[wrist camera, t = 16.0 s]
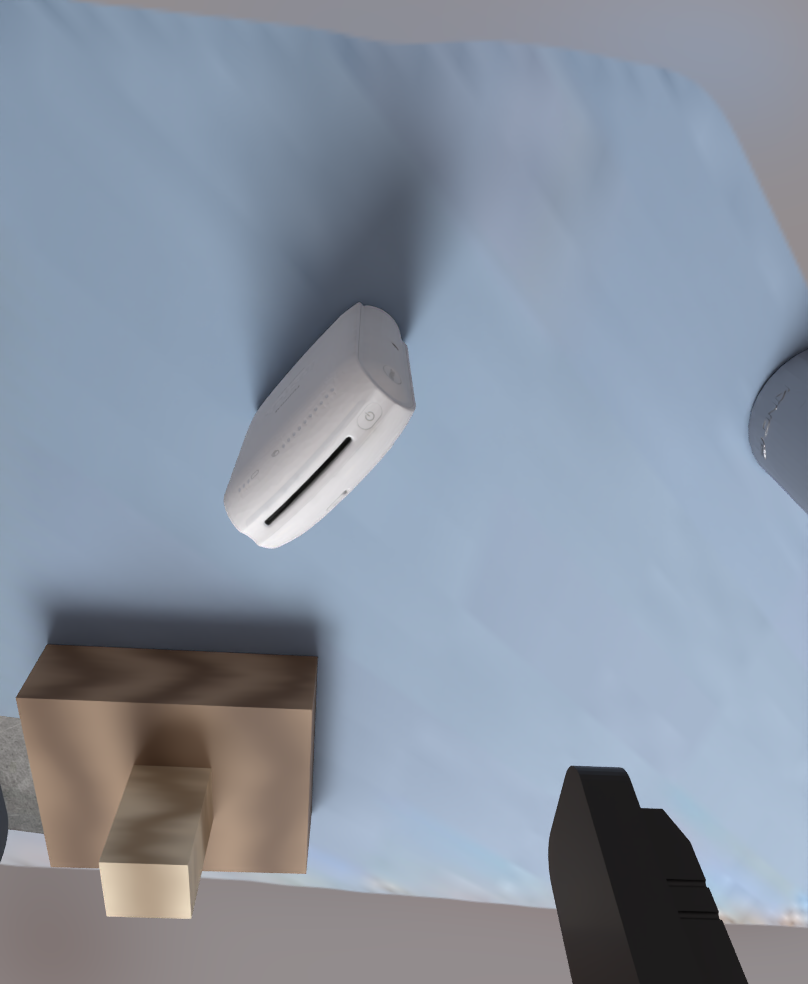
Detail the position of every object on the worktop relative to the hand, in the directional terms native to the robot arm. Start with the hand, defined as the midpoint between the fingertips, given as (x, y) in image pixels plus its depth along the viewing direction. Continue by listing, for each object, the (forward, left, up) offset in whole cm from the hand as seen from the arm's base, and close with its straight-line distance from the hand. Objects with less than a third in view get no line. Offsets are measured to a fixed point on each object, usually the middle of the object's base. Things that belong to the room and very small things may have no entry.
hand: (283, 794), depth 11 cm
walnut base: (+10, +34, -33) cm, 48 cm away
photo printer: (+1, +6, -33) cm, 34 cm away
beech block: (+10, +34, -28) cm, 45 cm away
